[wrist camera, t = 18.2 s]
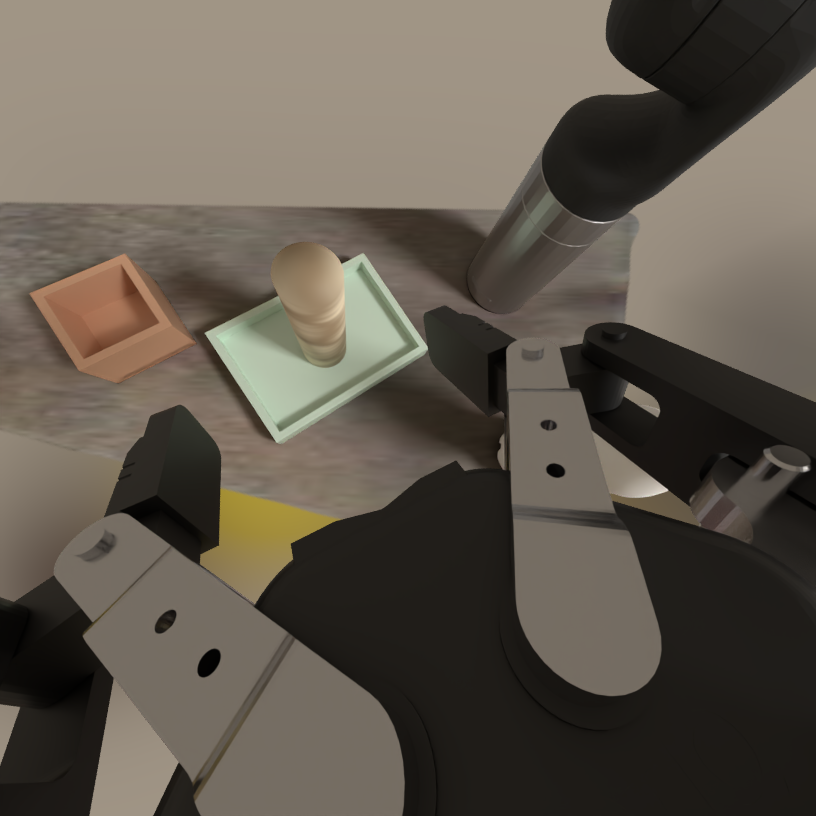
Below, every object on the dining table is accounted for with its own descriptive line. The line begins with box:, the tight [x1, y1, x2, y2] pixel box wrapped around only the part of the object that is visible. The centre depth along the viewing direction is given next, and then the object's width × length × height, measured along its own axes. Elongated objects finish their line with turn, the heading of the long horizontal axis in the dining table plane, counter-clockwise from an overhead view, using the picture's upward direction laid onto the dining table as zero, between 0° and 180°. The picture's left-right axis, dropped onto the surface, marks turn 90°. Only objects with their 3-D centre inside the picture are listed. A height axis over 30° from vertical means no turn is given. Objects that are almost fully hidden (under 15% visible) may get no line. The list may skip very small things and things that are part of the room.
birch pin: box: [271, 242, 346, 368], centre depth 30 cm, size 5×5×15 cm
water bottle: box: [497, 404, 668, 498], centre depth 28 cm, size 7×7×25 cm
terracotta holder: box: [29, 254, 197, 383], centre depth 32 cm, size 9×9×5 cm
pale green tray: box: [205, 253, 428, 444], centre depth 37 cm, size 20×14×2 cm
